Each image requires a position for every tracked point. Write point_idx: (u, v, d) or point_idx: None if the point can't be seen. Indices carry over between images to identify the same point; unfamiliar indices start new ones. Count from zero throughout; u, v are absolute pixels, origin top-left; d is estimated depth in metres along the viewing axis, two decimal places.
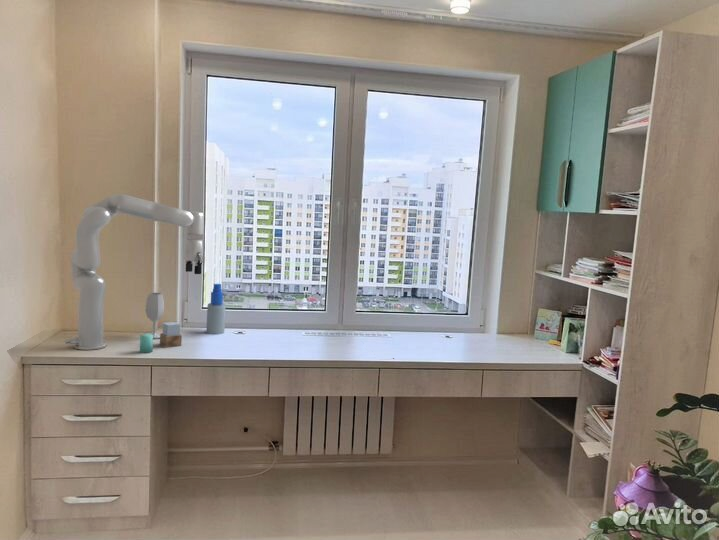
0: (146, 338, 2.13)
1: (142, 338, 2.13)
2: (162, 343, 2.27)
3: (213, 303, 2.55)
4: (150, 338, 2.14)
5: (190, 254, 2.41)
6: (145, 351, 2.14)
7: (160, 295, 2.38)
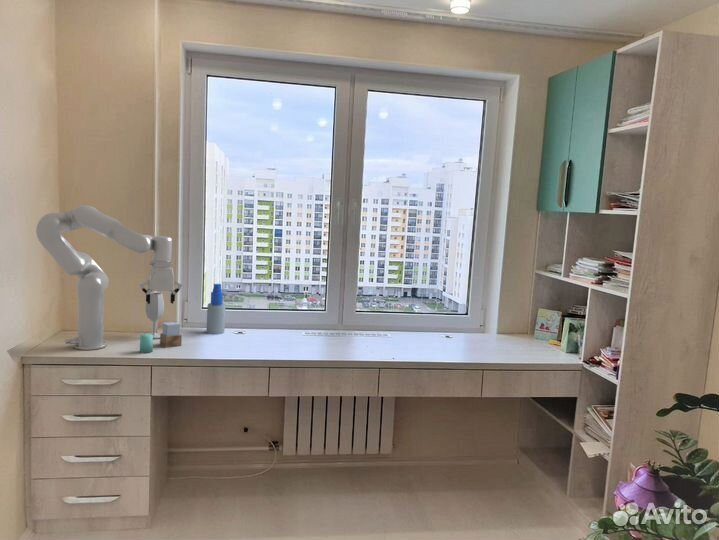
0: (146, 338, 2.13)
1: (142, 338, 2.13)
2: (162, 343, 2.27)
3: (213, 303, 2.55)
4: (150, 338, 2.14)
5: (167, 283, 2.20)
6: (145, 351, 2.14)
7: (160, 295, 2.38)
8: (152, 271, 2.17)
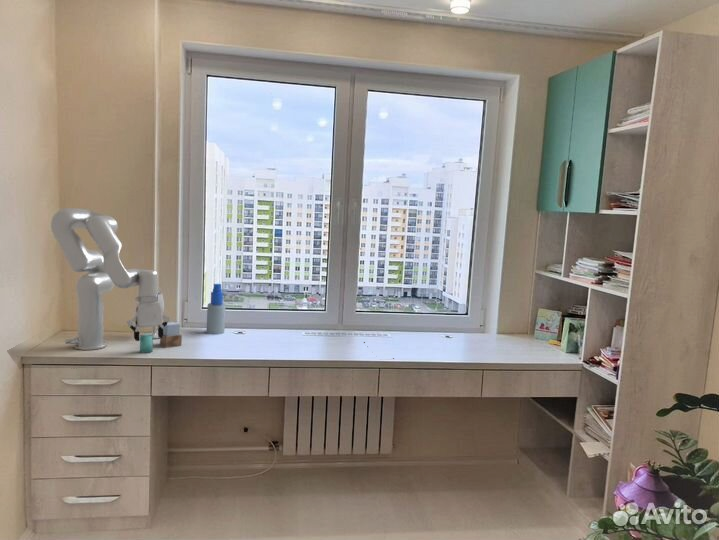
0: (146, 338, 2.13)
1: (142, 338, 2.13)
2: (162, 343, 2.27)
3: (213, 303, 2.55)
4: (150, 338, 2.14)
5: (156, 318, 2.14)
6: (145, 351, 2.14)
7: (160, 295, 2.38)
8: (140, 307, 2.10)
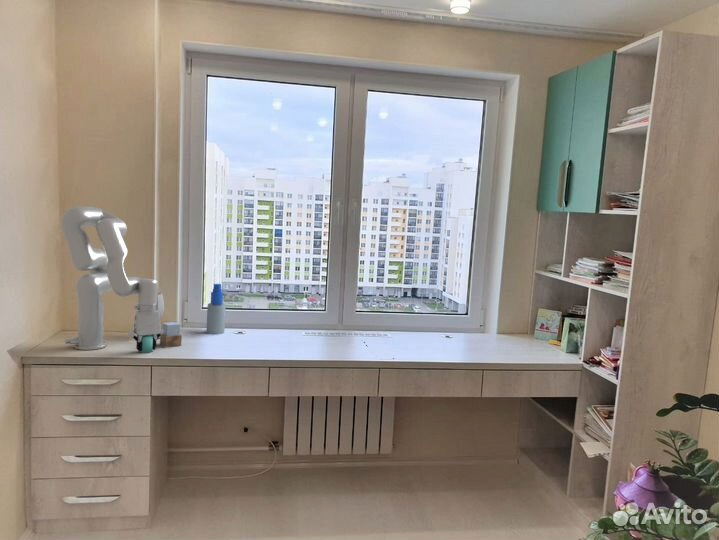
0: (146, 338, 2.13)
1: (142, 338, 2.13)
2: (162, 343, 2.27)
3: (213, 303, 2.55)
4: (150, 338, 2.14)
5: (154, 327, 2.14)
6: (145, 351, 2.14)
7: (160, 295, 2.38)
8: (139, 316, 2.10)
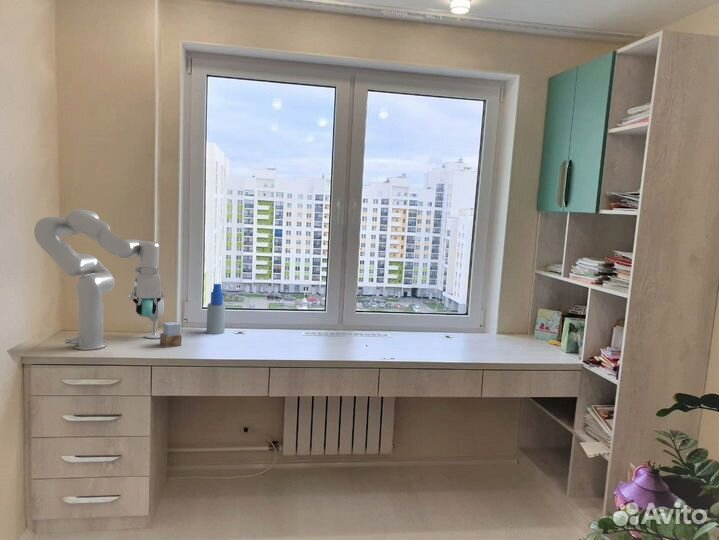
0: (146, 301, 2.12)
1: (142, 301, 2.12)
2: (162, 343, 2.27)
3: (213, 303, 2.55)
4: (150, 302, 2.13)
5: (154, 290, 2.13)
6: (145, 314, 2.12)
7: None
8: (140, 278, 2.09)
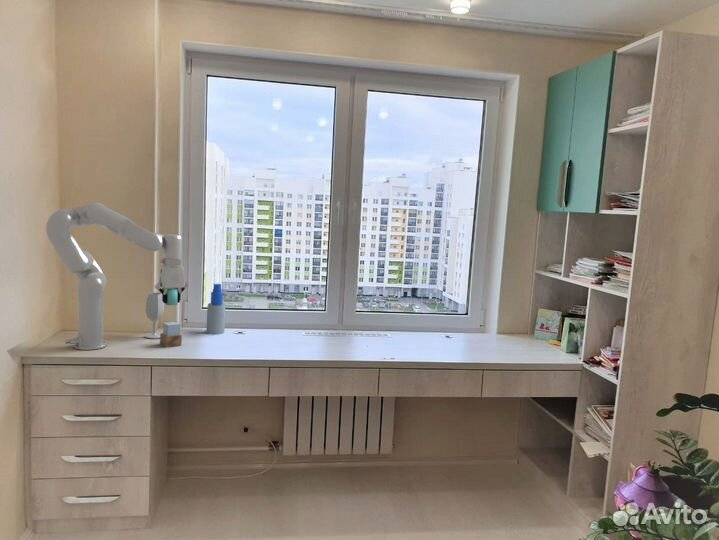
0: (171, 291, 2.24)
1: (167, 291, 2.24)
2: (162, 343, 2.27)
3: (213, 303, 2.55)
4: (175, 291, 2.25)
5: (179, 280, 2.25)
6: (170, 303, 2.24)
7: (160, 295, 2.38)
8: (164, 269, 2.21)
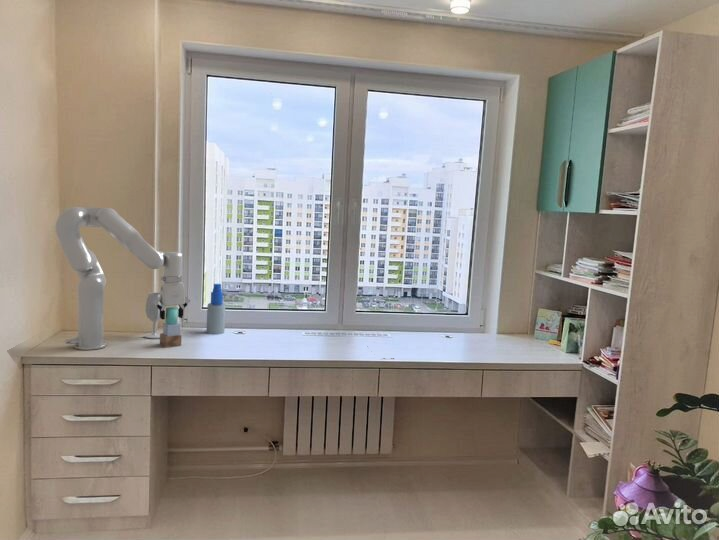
0: (172, 310, 2.25)
1: (168, 310, 2.25)
2: (162, 343, 2.27)
3: (213, 303, 2.55)
4: (175, 310, 2.26)
5: (179, 297, 2.27)
6: (170, 323, 2.26)
7: None
8: (165, 286, 2.22)
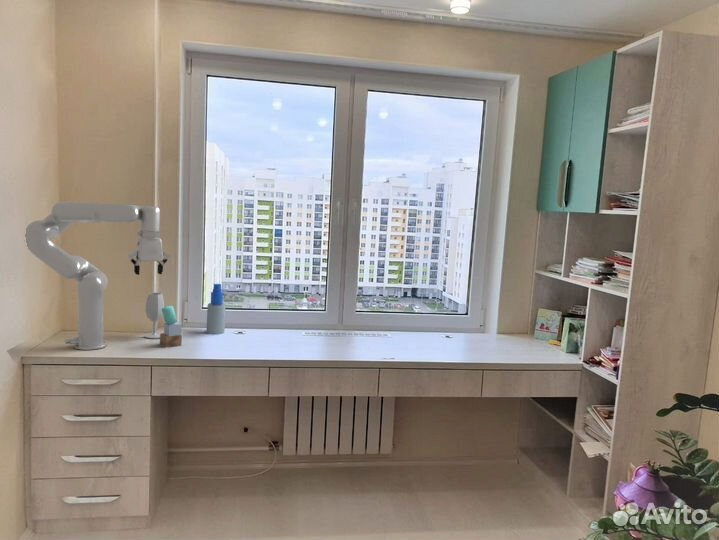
0: (171, 309, 2.25)
1: (168, 311, 2.24)
2: (162, 343, 2.27)
3: (213, 303, 2.55)
4: (173, 308, 2.26)
5: (156, 254, 2.19)
6: (174, 321, 2.26)
7: (160, 295, 2.38)
8: (141, 241, 2.15)
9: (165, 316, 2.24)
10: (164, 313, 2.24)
